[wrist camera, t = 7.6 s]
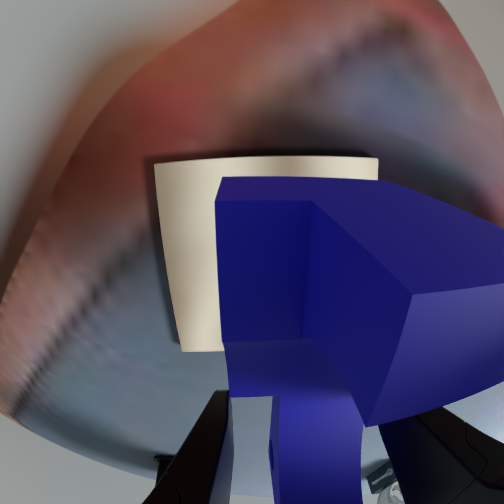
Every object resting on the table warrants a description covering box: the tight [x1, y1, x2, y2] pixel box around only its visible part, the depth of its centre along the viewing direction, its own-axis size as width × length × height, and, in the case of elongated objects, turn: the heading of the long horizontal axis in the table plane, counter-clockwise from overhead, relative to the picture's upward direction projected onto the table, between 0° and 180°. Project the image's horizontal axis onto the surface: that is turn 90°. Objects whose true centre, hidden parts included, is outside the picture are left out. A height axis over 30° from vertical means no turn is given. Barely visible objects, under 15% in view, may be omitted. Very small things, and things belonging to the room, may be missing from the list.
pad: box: [154, 156, 378, 352], centre depth 17 cm, size 12×12×1 cm
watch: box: [367, 461, 405, 504], centre depth 25 cm, size 6×8×11 cm
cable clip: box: [214, 176, 504, 504], centre depth 7 cm, size 12×4×6 cm, turn 0°
